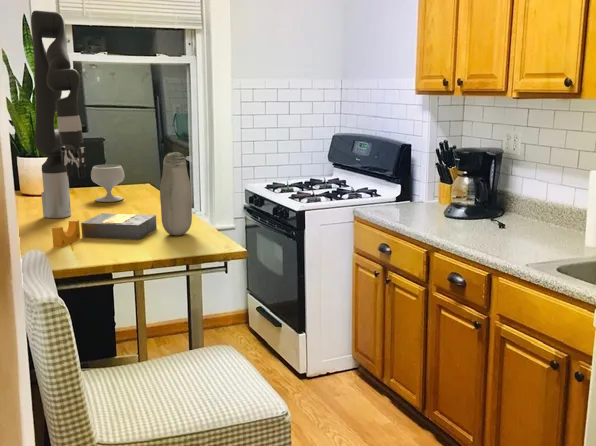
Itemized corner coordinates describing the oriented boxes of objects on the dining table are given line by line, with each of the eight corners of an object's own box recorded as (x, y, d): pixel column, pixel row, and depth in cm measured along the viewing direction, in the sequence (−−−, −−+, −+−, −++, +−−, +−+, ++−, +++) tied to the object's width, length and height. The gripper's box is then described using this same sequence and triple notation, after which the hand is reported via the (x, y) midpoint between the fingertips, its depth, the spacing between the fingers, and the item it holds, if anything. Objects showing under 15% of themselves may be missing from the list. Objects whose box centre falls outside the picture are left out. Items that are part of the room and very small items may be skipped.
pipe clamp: (68, 238, 214) (66, 219, 213) (80, 239, 213) (78, 220, 212) (48, 247, 203) (46, 227, 201) (61, 248, 202) (59, 228, 200)
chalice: (94, 204, 272) (92, 168, 269) (91, 198, 285) (88, 164, 281) (128, 201, 277) (126, 167, 274) (123, 196, 290) (121, 163, 287)
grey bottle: (189, 238, 214) (186, 154, 208) (159, 237, 214) (155, 154, 208) (195, 231, 224) (192, 150, 218) (165, 231, 224) (162, 150, 218)
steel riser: (82, 237, 214) (81, 222, 213) (103, 227, 230) (102, 212, 229) (139, 239, 212) (138, 224, 211) (156, 228, 227) (155, 214, 226)
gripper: (50, 130, 220) (56, 177, 224) (69, 131, 210) (75, 180, 214) (70, 128, 225) (76, 174, 229) (90, 128, 215) (96, 176, 219)
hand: (76, 177), depth 221 cm, fingers open, 8 cm apart
